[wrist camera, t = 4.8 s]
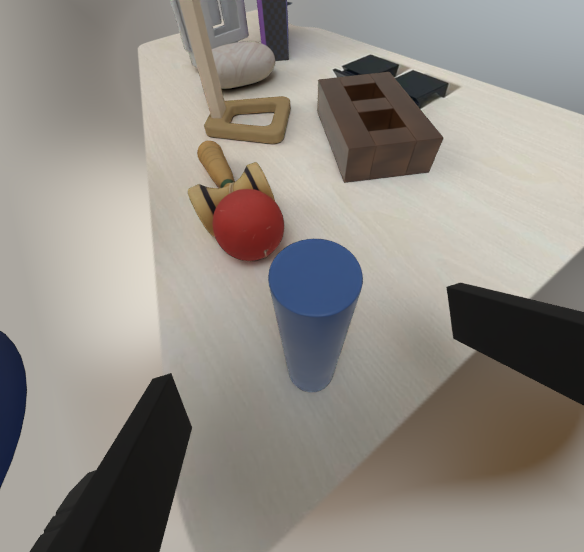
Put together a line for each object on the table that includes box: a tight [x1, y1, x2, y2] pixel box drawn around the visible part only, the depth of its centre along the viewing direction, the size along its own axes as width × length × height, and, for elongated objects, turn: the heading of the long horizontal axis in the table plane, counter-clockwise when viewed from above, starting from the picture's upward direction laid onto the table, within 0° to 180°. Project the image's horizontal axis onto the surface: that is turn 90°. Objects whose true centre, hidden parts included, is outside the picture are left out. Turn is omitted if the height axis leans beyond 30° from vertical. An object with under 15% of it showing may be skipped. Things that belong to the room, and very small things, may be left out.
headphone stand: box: [179, 0, 290, 144], centre depth 29 cm, size 10×11×22 cm
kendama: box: [188, 141, 284, 261], centre depth 27 cm, size 8×6×18 cm
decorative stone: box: [198, 41, 275, 89], centre depth 44 cm, size 13×9×5 cm
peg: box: [268, 239, 363, 392], centre depth 14 cm, size 3×3×12 cm
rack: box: [317, 72, 443, 182], centre depth 33 cm, size 10×17×4 cm, turn 7°
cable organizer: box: [170, 0, 249, 69], centre depth 46 cm, size 7×12×12 cm, turn 137°
